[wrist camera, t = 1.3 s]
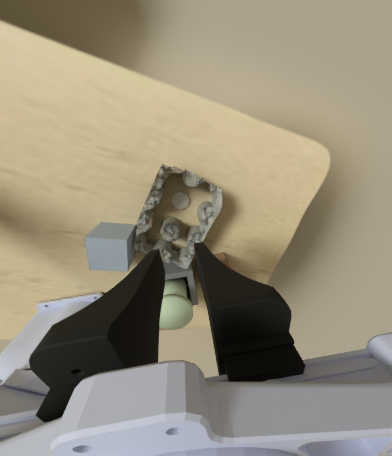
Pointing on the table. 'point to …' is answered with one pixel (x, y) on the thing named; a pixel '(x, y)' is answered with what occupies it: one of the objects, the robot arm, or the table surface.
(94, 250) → the slate-blue block
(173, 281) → the green button
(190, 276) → the button housing
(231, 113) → the table surface
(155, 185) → the egg carton
